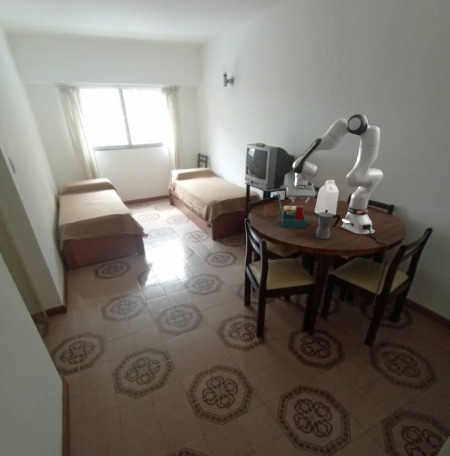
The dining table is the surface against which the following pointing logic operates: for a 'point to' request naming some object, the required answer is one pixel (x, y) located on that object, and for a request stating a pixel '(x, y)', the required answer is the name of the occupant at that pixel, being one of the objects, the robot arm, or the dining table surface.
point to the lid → (279, 202)
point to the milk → (327, 198)
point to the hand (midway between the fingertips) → (299, 202)
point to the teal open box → (293, 221)
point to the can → (299, 212)
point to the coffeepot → (325, 224)
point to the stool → (289, 209)
